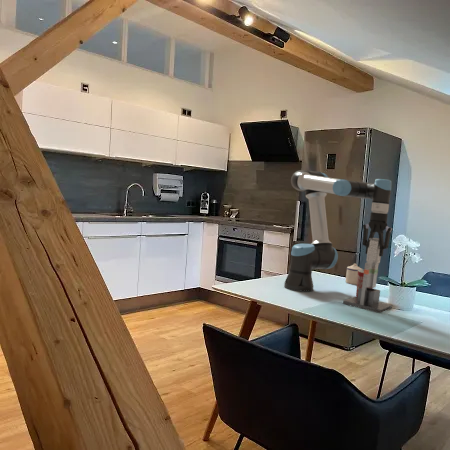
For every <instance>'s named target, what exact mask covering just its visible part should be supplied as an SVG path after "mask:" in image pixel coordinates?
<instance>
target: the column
mask: <svg viewBox="0 0 450 450" xmlns="http://www.w3.org/2000/svg"><path fill="white" fill-rule="evenodd" d="M368 238H369V237H368ZM369 240H370V244H369V252H368V260H367V259H366V260H367V261H366V263H370V267H369V275H368V283H367V287H370V288H373V289H376V286H377V280H378V273H379V265H380V263H376V260H377V252H378V249H379V248H380V246H379V241H380V239H379V237H378V238H377V237H373V238H369Z"/></svg>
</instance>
